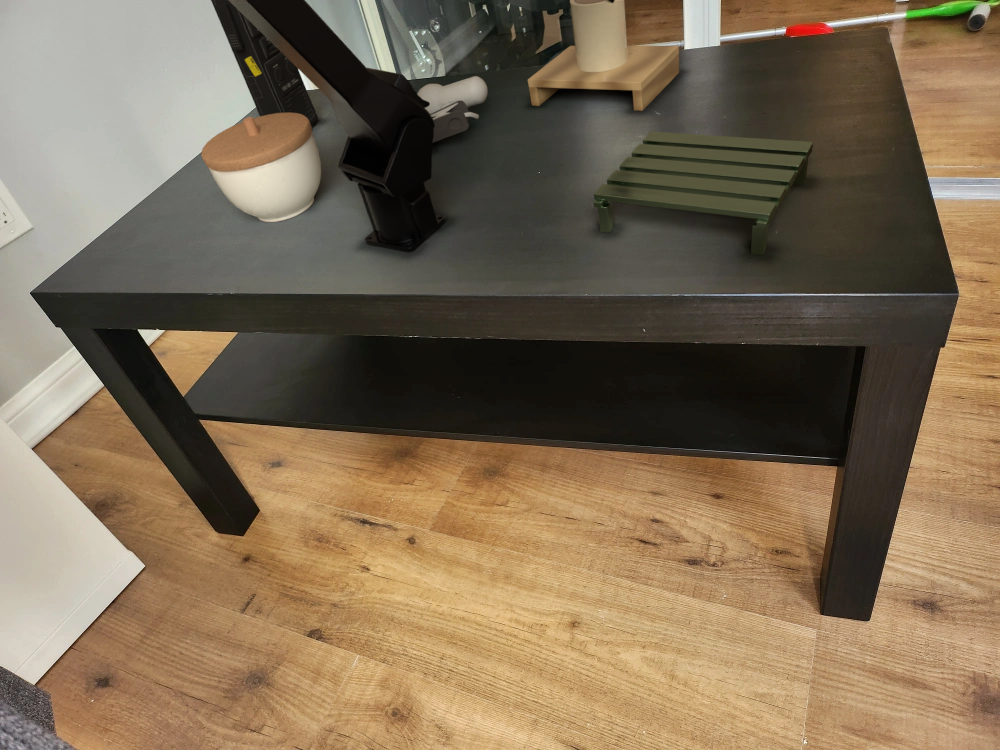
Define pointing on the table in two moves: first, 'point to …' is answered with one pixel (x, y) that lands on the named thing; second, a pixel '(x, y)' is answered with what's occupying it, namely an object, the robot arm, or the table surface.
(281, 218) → the lidded bowl
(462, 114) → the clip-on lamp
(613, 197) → the rack
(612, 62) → the cup
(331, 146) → the table surface
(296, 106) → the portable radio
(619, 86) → the shelf
